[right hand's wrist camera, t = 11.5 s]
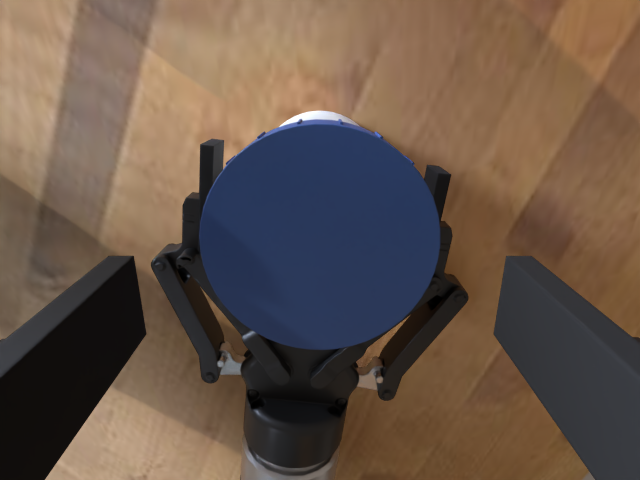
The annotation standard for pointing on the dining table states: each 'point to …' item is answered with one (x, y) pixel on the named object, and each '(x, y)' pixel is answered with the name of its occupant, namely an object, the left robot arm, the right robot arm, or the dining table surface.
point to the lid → (319, 235)
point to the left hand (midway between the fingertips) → (327, 155)
